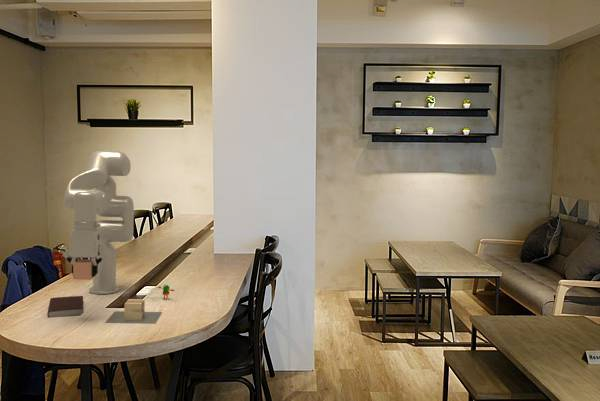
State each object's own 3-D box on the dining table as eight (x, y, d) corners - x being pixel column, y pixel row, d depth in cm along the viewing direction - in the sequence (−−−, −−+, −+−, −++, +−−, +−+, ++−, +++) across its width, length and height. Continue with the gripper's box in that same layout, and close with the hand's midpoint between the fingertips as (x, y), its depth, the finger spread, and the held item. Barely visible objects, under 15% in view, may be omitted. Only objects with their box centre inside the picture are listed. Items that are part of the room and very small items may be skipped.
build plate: (114, 313, 208) (114, 311, 207) (162, 314, 209) (162, 312, 209) (104, 325, 194) (104, 322, 194) (155, 326, 195) (155, 323, 195)
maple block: (128, 314, 204) (128, 299, 203) (144, 314, 204) (144, 299, 204) (124, 319, 198) (124, 303, 197) (141, 319, 198) (141, 303, 198)
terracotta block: (79, 275, 198) (79, 259, 197) (95, 275, 198) (95, 259, 197) (73, 279, 192) (73, 262, 191) (90, 279, 192) (90, 263, 191)
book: (47, 319, 200) (47, 310, 199) (50, 304, 218) (50, 296, 217) (83, 316, 204) (83, 308, 204) (83, 302, 222) (83, 294, 222)
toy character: (168, 305, 223) (168, 289, 223) (147, 300, 229) (147, 284, 229) (186, 299, 233) (186, 284, 232) (166, 294, 239) (166, 280, 238)
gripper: (112, 225, 197) (112, 273, 199) (64, 223, 196) (64, 272, 198) (106, 228, 190) (106, 278, 192) (56, 226, 189) (56, 277, 190)
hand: (84, 275), depth 195 cm, fingers closed on terracotta block, 6 cm apart
